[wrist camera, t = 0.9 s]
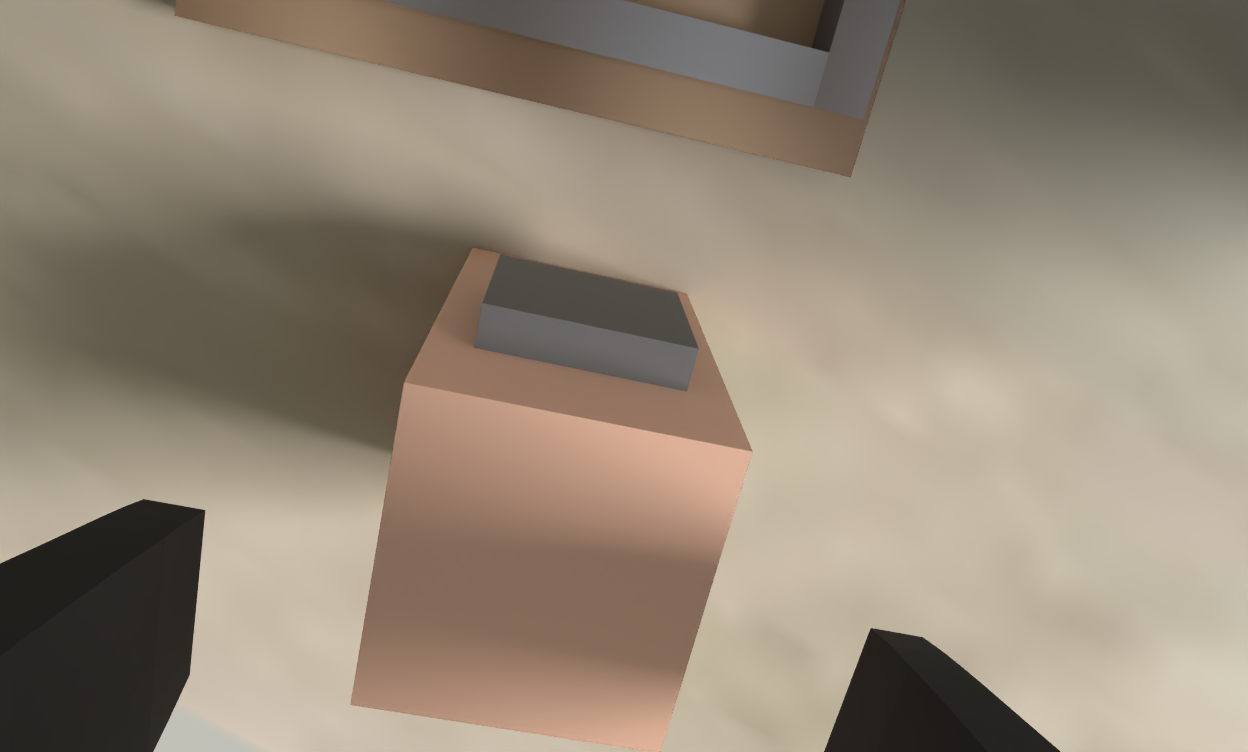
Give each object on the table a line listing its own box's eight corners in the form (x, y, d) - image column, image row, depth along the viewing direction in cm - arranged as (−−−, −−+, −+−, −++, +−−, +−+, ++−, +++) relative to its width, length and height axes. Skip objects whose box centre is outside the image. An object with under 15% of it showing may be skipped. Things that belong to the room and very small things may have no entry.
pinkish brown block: (694, 262, 17) (766, 404, 10) (631, 501, 19) (660, 752, 12) (478, 214, 17) (412, 331, 10) (433, 463, 18) (350, 704, 12)
